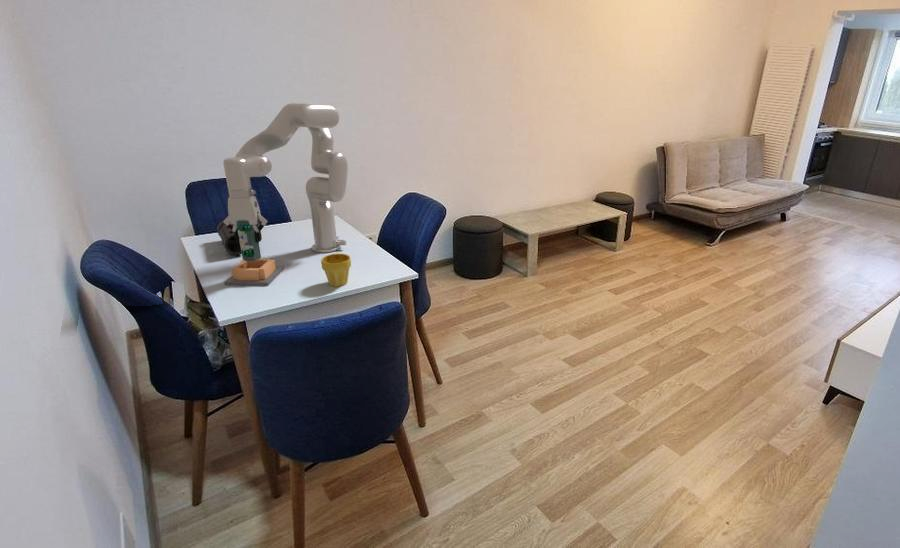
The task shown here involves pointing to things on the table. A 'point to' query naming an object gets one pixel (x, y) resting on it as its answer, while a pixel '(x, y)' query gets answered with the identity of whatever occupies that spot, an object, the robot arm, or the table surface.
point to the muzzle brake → (229, 239)
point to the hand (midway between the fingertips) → (249, 241)
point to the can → (248, 241)
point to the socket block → (254, 272)
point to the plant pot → (336, 268)
